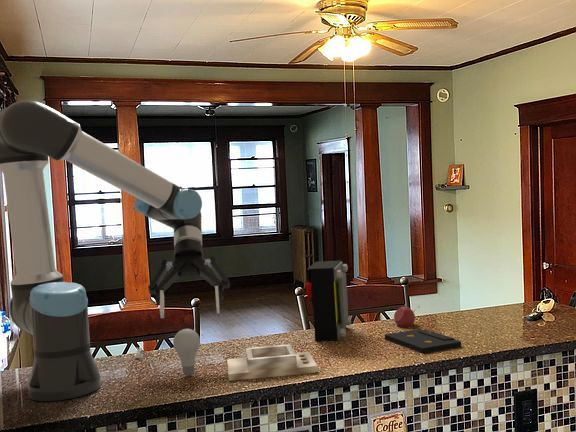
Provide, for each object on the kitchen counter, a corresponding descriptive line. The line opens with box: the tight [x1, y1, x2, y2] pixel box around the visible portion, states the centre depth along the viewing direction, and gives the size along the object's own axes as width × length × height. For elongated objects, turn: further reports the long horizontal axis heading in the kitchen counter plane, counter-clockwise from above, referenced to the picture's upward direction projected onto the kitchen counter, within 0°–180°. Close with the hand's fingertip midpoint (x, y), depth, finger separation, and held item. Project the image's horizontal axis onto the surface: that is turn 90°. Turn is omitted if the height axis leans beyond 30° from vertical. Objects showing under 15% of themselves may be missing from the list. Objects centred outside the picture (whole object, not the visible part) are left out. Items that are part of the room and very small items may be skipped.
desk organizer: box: [226, 344, 319, 382], centre depth 141 cm, size 20×13×4 cm, turn 97°
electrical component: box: [304, 260, 352, 342], centre depth 173 cm, size 18×10×20 cm, turn 168°
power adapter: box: [134, 346, 144, 359], centre depth 159 cm, size 3×3×3 cm
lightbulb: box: [172, 328, 201, 378], centre depth 139 cm, size 6×6×11 cm
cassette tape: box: [384, 328, 462, 354], centre depth 157 cm, size 18×12×2 cm, turn 22°
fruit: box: [393, 305, 420, 328], centre depth 179 cm, size 6×6×8 cm
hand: (190, 312), depth 148 cm, fingers open, 13 cm apart
